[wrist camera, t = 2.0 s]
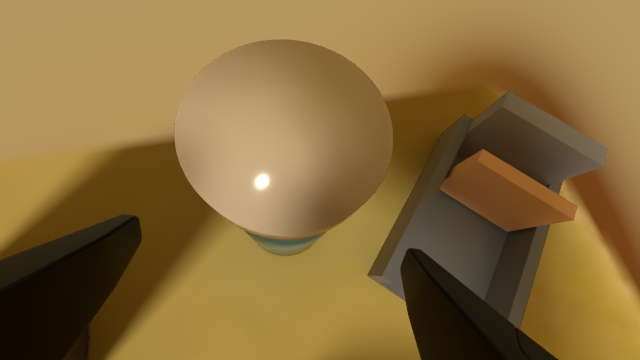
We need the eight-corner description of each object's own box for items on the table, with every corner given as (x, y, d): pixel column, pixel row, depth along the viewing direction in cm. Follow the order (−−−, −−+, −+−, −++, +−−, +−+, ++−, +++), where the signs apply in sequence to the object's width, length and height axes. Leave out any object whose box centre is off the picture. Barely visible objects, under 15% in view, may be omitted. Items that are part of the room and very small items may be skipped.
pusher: (506, 231, 20) (573, 219, 16) (433, 185, 21) (477, 160, 16) (510, 220, 21) (577, 206, 16) (438, 176, 21) (483, 148, 16)
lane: (474, 347, 18) (571, 386, 12) (367, 275, 19) (407, 277, 13) (530, 186, 23) (619, 155, 17) (442, 133, 23) (498, 84, 17)
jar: (341, 228, 20) (435, 157, 7) (273, 275, 18) (247, 284, 6) (298, 165, 21) (317, 14, 9) (230, 205, 19) (135, 88, 7)
